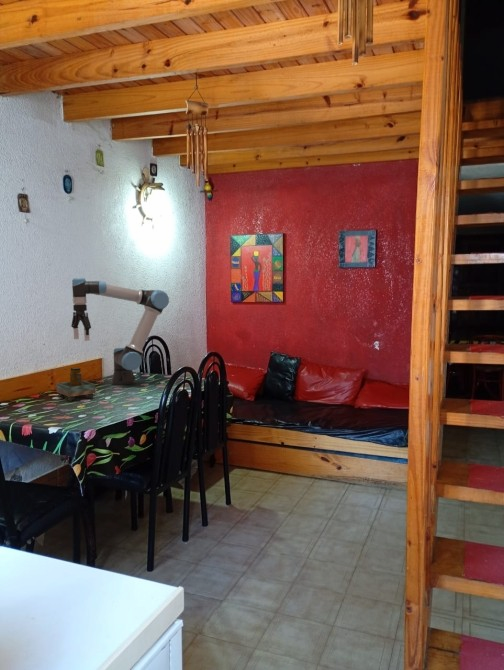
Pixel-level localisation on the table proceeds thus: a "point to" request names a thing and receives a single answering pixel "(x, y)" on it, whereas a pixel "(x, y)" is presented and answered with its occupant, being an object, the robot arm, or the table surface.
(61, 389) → the shallow square tray
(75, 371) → the condiment
